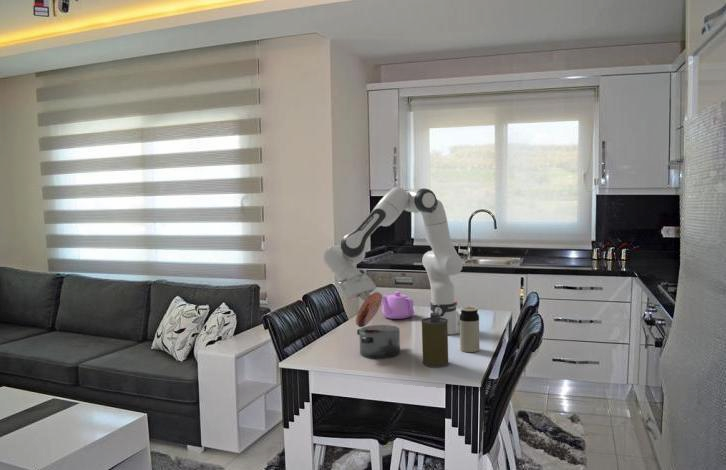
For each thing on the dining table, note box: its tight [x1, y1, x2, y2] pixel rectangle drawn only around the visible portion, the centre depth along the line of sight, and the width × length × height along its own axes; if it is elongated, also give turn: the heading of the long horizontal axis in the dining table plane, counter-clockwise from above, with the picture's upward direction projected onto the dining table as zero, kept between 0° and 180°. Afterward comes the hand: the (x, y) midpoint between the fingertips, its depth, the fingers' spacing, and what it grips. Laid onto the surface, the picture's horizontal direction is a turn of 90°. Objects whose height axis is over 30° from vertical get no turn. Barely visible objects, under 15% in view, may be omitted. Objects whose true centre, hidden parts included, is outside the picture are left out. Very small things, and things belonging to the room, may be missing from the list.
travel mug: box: [459, 305, 480, 353], centre depth 235 cm, size 8×8×18 cm
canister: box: [420, 313, 450, 369], centre depth 218 cm, size 11×10×20 cm
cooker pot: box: [356, 324, 401, 360], centre depth 235 cm, size 25×18×10 cm
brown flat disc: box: [355, 291, 383, 328], centre depth 237 cm, size 17×17×3 cm
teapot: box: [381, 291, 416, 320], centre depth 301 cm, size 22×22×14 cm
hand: (370, 301), depth 236 cm, fingers closed, pressing on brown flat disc
